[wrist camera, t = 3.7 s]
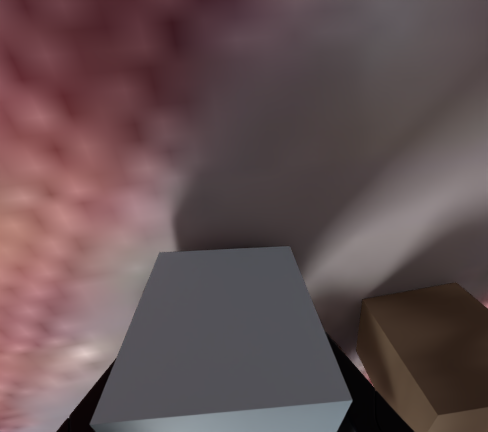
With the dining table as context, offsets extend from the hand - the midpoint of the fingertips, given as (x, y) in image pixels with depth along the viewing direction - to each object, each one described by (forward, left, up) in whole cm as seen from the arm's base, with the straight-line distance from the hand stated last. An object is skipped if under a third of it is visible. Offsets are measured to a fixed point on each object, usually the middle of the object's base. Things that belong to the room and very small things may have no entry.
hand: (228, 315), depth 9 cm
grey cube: (0, 0, -1) cm, 1 cm away
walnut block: (-10, +4, -2) cm, 11 cm away
